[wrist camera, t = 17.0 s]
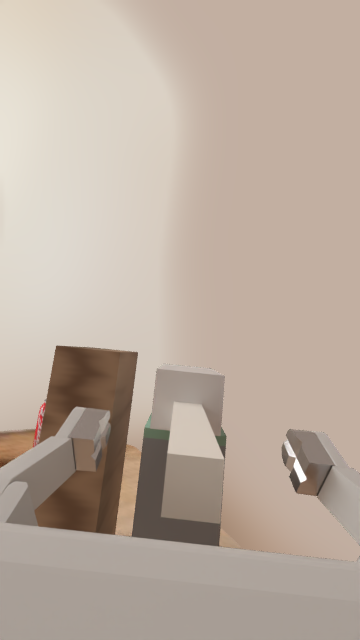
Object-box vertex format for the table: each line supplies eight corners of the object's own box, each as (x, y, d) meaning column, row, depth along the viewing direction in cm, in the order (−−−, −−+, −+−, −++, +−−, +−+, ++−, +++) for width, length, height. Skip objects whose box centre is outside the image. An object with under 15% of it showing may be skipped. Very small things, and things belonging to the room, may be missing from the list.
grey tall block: (110, 718, 16) (144, 427, 19) (137, 579, 26) (156, 401, 29) (206, 730, 16) (226, 436, 19) (196, 586, 26) (210, 407, 29)
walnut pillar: (4, 631, 20) (56, 345, 24) (62, 539, 30) (92, 347, 34) (80, 640, 20) (120, 352, 24) (113, 545, 30) (138, 352, 34)
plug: (265, 529, 9) (270, 399, 10) (116, 511, 9) (132, 385, 10) (207, 409, 28) (210, 368, 28) (159, 404, 28) (164, 363, 29)
